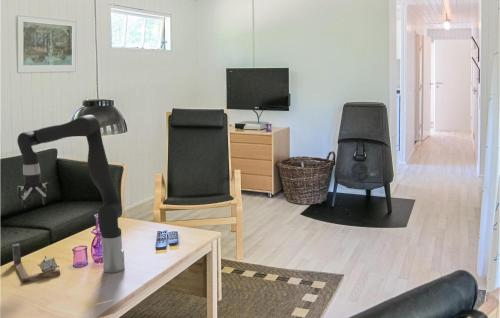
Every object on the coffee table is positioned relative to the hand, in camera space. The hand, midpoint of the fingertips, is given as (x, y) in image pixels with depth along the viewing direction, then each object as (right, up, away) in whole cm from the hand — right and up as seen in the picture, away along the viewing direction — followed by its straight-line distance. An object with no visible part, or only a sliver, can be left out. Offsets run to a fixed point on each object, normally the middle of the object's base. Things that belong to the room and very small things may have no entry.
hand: (34, 205), depth 238 cm
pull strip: (+2, -31, -2) cm, 31 cm away
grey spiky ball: (+10, -32, -7) cm, 34 cm away
